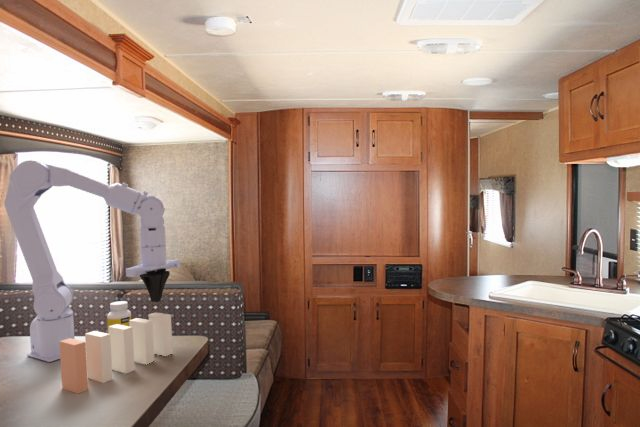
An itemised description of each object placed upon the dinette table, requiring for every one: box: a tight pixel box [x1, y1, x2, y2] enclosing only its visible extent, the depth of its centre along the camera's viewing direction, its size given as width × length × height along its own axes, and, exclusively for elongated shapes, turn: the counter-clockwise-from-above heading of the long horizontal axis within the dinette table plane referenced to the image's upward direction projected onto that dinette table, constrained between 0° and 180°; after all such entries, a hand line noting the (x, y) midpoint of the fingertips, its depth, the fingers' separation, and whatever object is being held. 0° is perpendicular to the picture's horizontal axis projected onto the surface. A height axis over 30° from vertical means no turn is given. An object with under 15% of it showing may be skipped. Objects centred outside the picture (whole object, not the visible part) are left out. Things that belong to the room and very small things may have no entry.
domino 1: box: [84, 330, 114, 384], centre depth 88 cm, size 2×5×9 cm, turn 60°
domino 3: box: [129, 317, 155, 366], centre depth 97 cm, size 2×5×9 cm, turn 60°
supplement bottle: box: [106, 300, 132, 334], centre depth 110 cm, size 5×5×10 cm
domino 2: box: [107, 324, 135, 374], centre depth 92 cm, size 2×5×9 cm, turn 59°
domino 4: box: [148, 312, 174, 357], centre depth 101 cm, size 2×5×9 cm, turn 60°
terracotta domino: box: [60, 338, 89, 395], centre depth 84 cm, size 2×5×9 cm, turn 59°
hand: (156, 301), depth 110 cm, fingers closed
